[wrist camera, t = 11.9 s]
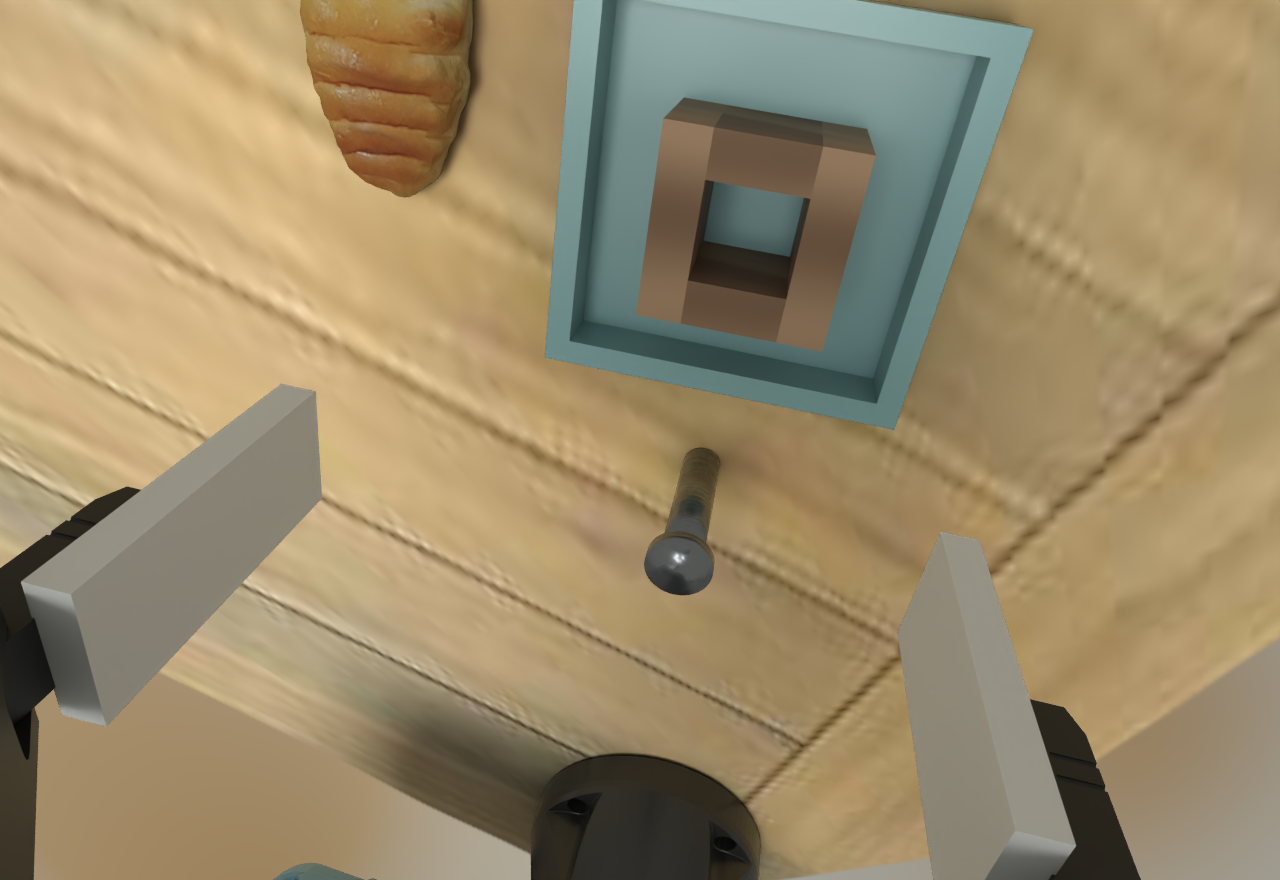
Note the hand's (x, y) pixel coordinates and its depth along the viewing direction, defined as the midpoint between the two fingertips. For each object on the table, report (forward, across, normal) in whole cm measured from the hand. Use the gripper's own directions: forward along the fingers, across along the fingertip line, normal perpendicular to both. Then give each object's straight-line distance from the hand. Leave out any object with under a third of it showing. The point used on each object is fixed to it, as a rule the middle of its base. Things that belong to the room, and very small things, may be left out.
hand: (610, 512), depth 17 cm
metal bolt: (+20, -2, +11) cm, 23 cm away
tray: (+20, -2, -2) cm, 20 cm away
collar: (+19, -2, -2) cm, 20 cm away
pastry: (+21, +13, -5) cm, 25 cm away
